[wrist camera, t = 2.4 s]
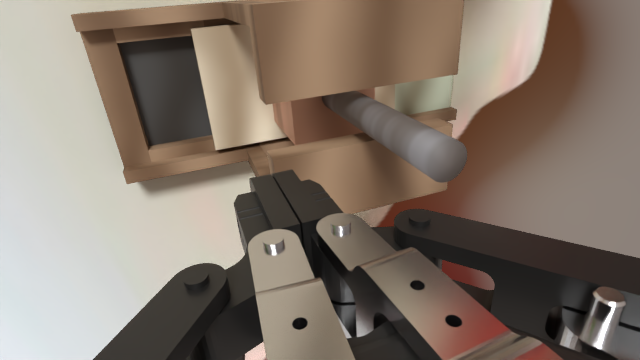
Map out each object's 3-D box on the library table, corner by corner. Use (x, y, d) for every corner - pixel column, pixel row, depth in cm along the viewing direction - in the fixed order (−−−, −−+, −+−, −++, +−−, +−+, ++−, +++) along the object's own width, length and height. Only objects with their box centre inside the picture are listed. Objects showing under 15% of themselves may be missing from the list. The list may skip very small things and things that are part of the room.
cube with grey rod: (214, 146, 31) (264, 307, 15) (190, 28, 27) (222, 72, 11) (389, 114, 36) (575, 212, 19) (390, 8, 32) (627, 19, 15)
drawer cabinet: (129, 171, 32) (106, 276, 20) (78, 13, 26) (3, 25, 14) (440, 112, 40) (556, 161, 28) (450, -17, 34) (599, -26, 22)
